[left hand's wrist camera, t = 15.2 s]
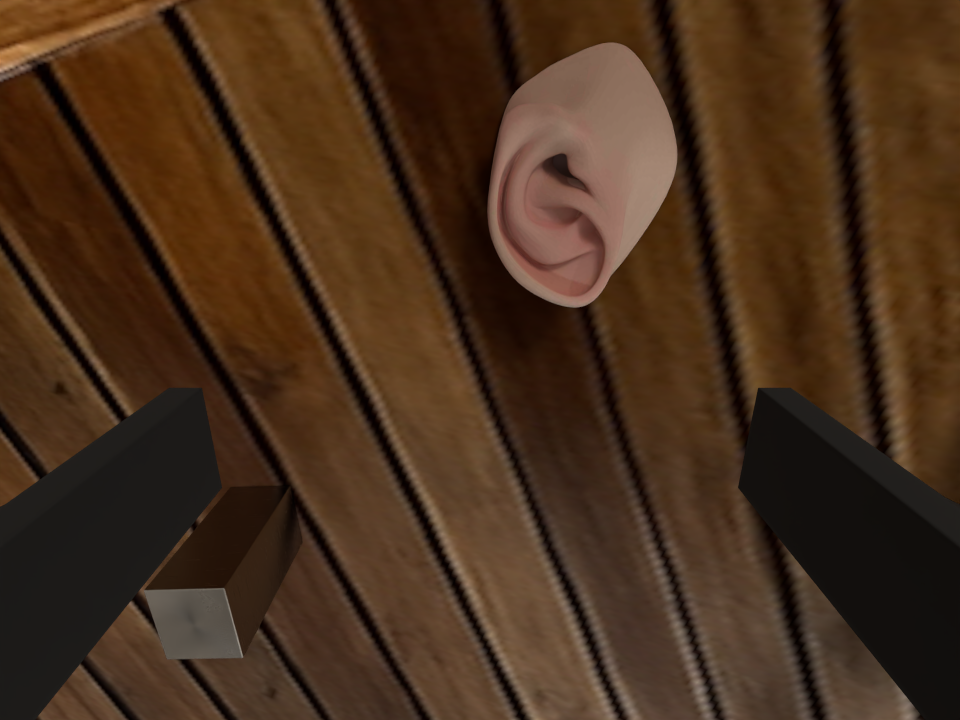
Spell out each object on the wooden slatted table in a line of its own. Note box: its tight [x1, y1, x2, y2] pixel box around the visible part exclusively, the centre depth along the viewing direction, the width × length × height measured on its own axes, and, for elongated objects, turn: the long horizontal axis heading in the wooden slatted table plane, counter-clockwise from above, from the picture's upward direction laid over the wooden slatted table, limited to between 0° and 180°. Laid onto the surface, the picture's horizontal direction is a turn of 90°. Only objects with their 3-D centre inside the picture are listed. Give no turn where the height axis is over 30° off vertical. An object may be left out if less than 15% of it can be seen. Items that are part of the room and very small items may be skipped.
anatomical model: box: [487, 43, 677, 307], centre depth 29 cm, size 13×4×12 cm
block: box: [144, 486, 302, 659], centre depth 35 cm, size 5×5×10 cm
